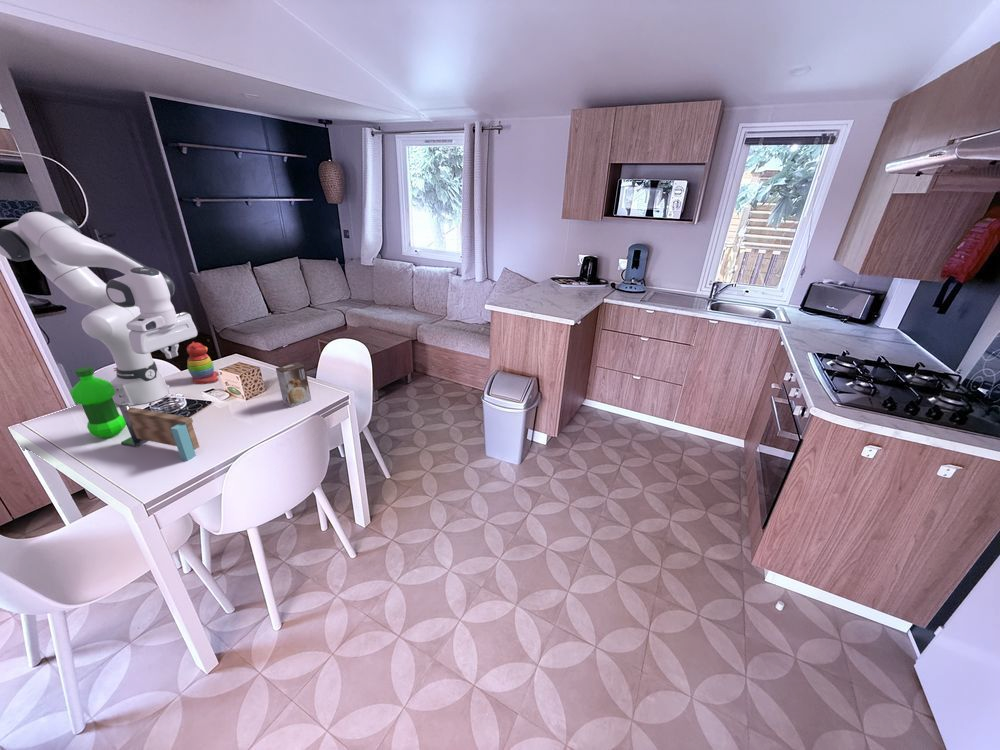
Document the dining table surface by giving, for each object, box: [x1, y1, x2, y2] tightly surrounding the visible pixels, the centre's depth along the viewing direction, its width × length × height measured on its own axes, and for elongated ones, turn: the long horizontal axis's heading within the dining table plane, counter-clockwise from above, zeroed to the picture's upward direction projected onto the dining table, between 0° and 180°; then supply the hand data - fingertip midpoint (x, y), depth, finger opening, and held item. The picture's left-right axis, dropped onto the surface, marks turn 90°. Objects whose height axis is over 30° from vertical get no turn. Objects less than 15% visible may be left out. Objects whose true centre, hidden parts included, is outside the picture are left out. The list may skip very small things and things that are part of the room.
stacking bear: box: [186, 341, 220, 385], centre depth 178 cm, size 11×10×18 cm
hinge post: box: [118, 404, 148, 448], centre depth 135 cm, size 6×6×14 cm
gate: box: [125, 407, 200, 451], centre depth 132 cm, size 24×2×11 cm, turn 78°
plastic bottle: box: [70, 366, 127, 439], centre depth 135 cm, size 10×10×25 cm
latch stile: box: [171, 423, 197, 462], centre depth 128 cm, size 2×3×12 cm
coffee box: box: [275, 361, 312, 408], centre depth 164 cm, size 9×6×16 cm
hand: (172, 357), depth 137 cm, fingers closed
